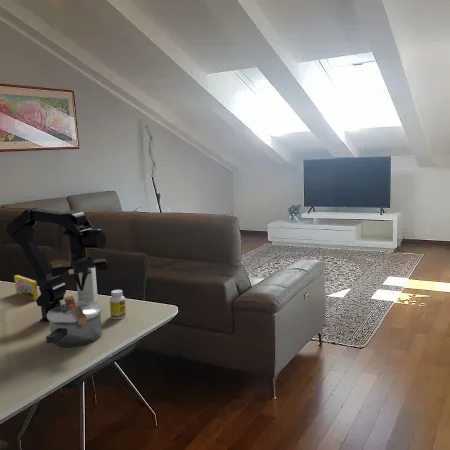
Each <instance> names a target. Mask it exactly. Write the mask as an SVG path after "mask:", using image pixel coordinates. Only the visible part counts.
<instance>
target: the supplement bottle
mask: <svg viewBox="0 0 450 450" xmlns="http://www.w3.org/2000/svg"><path fill="white" fill-rule="evenodd" d="M123 294H124V293H123V290H122V289H114V290H111V294H110V295H111V297H110V298H109V306H110V307H109V308H110V317H111V319H113V320H121V319H124V318H125V317H126V314H127V311H126V310H127V309H126V299H125V298H126V297H125V296H124V295H123Z"/></svg>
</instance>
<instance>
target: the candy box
mask: <svg viewBox="0 0 450 450" xmlns="http://www.w3.org/2000/svg"><path fill="white" fill-rule="evenodd" d="M13 278H14V284H15V292H16V294H17V295H19V296H22V297H25V298H28V299H29V300H32V301H35V302H36V300H37V298H38V297H39V296H40V295H39V291H38V290H39V288H38V284H37V280H34V279H31V278H29V277H25V276H22V275H19V274H16V275H14V276H13Z"/></svg>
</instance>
